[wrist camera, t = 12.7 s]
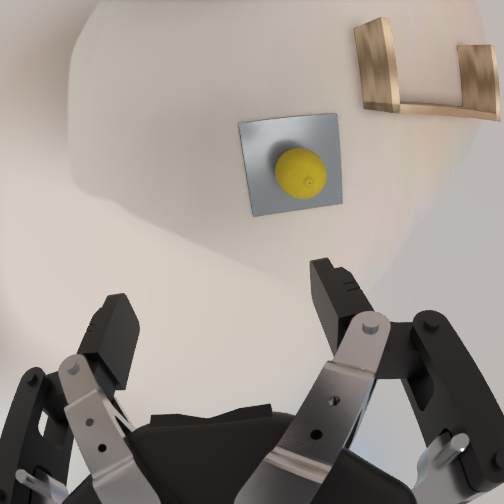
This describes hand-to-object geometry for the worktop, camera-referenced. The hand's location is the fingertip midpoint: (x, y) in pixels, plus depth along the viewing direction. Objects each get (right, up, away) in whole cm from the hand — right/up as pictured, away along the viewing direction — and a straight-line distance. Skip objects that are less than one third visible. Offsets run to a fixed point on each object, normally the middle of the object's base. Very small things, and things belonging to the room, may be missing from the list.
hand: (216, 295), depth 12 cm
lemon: (+6, +12, +23) cm, 27 cm away
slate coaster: (+7, +13, +24) cm, 28 cm away
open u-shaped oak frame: (+24, +26, +18) cm, 40 cm away
